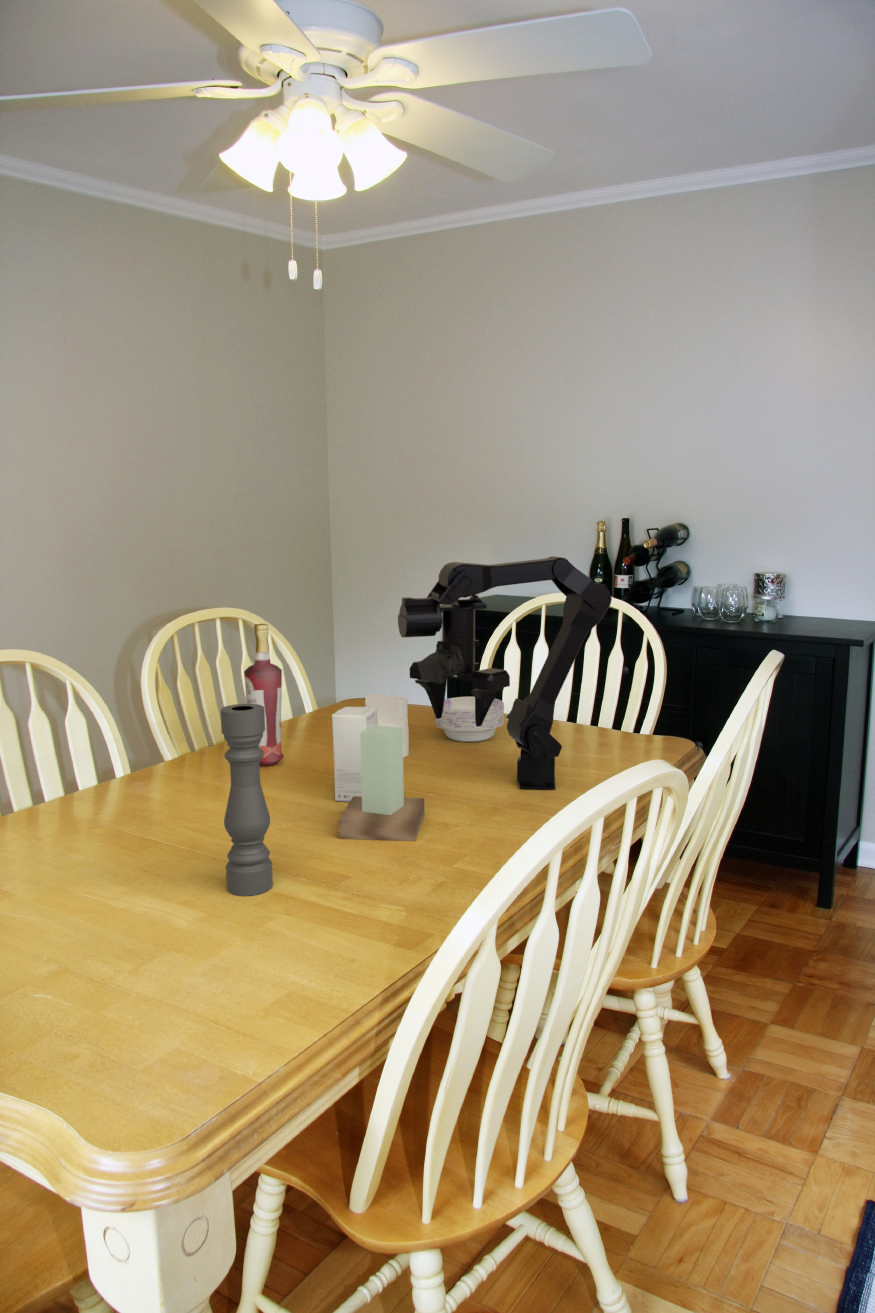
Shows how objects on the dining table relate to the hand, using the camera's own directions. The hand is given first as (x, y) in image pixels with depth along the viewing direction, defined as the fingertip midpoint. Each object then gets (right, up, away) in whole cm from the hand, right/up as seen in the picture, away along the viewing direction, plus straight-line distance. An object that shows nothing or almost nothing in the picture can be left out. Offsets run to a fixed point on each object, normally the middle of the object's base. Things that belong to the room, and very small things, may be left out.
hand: (458, 722), depth 169 cm
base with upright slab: (-14, -9, +29) cm, 33 cm away
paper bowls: (+3, -6, +42) cm, 42 cm away
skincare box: (-18, -13, +1) cm, 22 cm away
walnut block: (-13, -16, -15) cm, 25 cm away
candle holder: (-29, -20, -38) cm, 52 cm away
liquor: (-38, -10, +22) cm, 45 cm away
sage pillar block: (-12, -13, -15) cm, 24 cm away
